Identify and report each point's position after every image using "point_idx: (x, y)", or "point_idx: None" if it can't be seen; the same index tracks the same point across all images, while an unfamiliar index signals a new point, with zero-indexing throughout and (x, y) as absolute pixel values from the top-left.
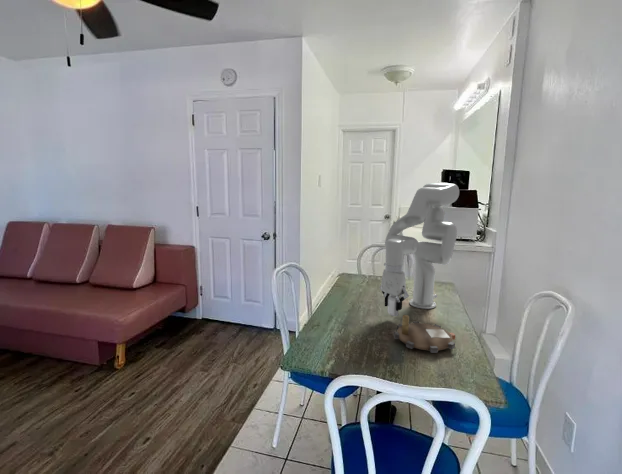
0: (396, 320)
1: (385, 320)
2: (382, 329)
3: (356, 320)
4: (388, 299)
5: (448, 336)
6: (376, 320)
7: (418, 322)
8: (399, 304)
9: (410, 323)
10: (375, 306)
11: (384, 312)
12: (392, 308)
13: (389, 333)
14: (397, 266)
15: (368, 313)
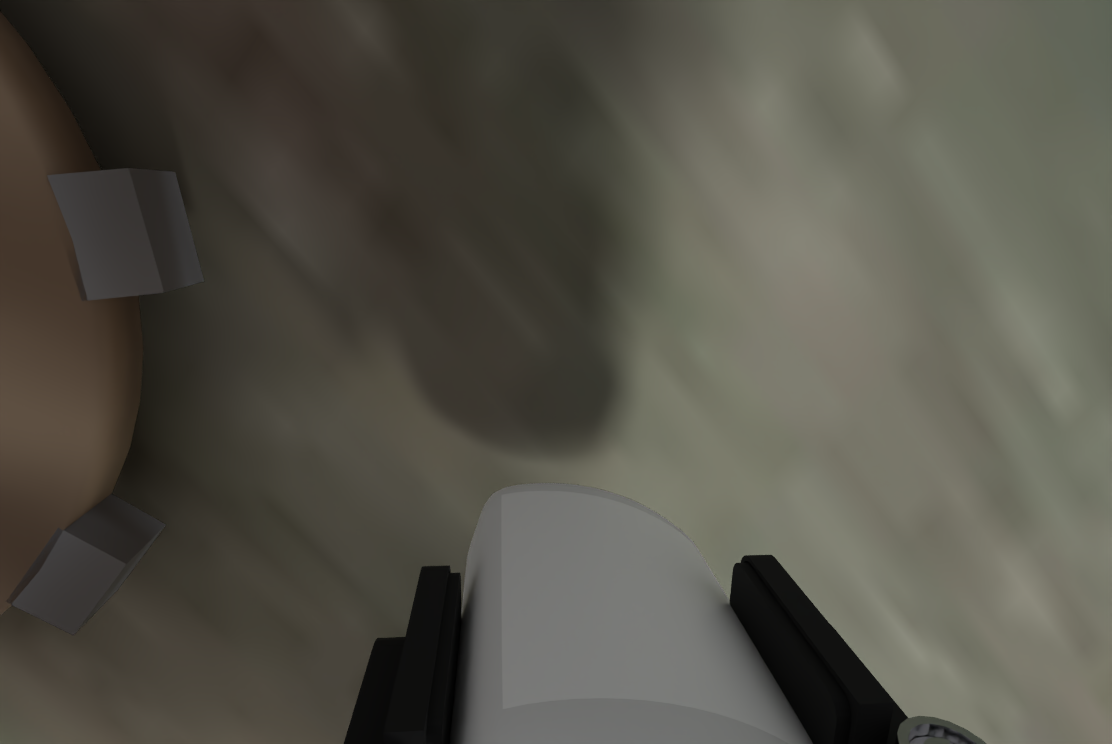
0: None
1: (638, 418)
2: (450, 113)
3: (952, 45)
4: (761, 713)
5: None
6: (727, 312)
7: (38, 602)
8: (361, 720)
9: (74, 463)
10: (998, 649)
11: None
12: (542, 556)
13: (271, 78)
14: None
15: (950, 411)
